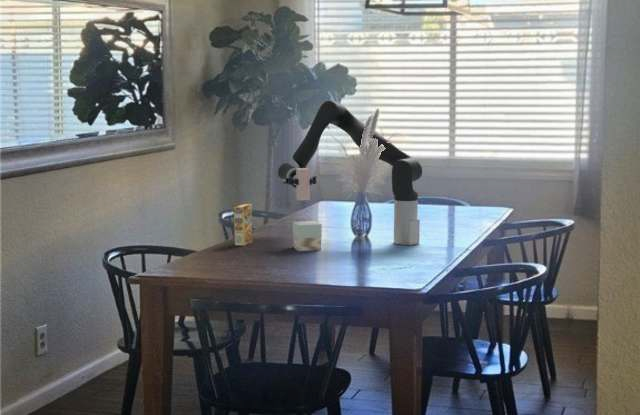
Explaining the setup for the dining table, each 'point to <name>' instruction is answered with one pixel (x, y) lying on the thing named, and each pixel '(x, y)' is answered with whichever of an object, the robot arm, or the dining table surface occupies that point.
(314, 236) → the tower top
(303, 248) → the tower base
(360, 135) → the robot arm
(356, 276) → the dining table surface
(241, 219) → the candy box
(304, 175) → the pillar block
